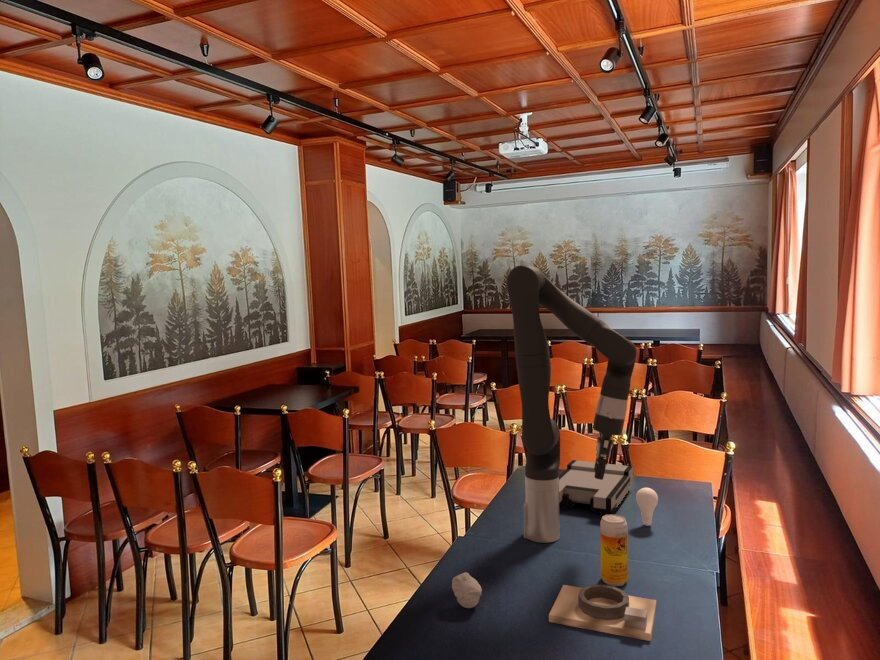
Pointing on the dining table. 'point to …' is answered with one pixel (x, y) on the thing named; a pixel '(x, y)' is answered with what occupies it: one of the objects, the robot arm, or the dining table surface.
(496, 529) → the dining table surface
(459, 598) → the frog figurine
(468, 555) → the dining table surface
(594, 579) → the dining table surface
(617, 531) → the beer can
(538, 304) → the robot arm
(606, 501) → the game console
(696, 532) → the dining table surface
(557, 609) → the board
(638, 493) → the lightbulb
